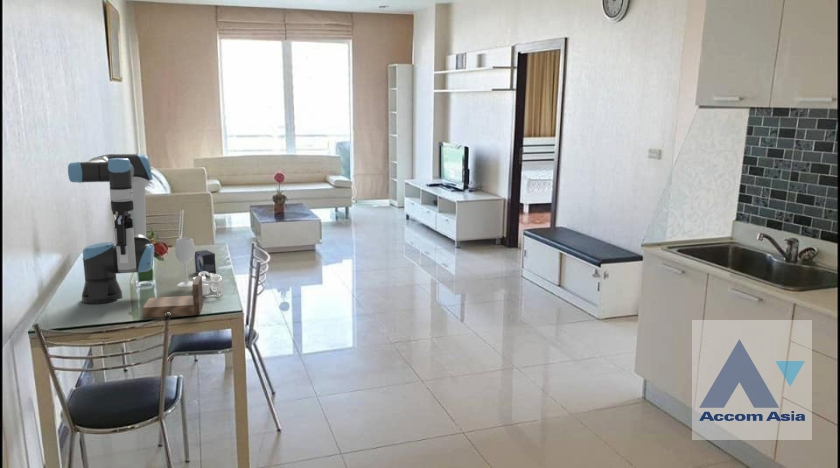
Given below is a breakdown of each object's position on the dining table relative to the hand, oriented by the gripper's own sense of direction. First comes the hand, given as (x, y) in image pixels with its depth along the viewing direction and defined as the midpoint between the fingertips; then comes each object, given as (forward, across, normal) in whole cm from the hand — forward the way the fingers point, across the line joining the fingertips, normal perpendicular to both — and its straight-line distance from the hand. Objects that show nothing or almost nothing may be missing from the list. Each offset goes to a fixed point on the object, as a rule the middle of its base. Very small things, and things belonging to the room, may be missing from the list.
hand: (126, 260), depth 236 cm
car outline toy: (+21, +24, -26) cm, 41 cm away
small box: (+21, +60, -22) cm, 67 cm away
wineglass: (+21, +39, -16) cm, 47 cm away
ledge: (+21, 0, -16) cm, 26 cm away
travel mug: (+4, 0, 0) cm, 4 cm away
